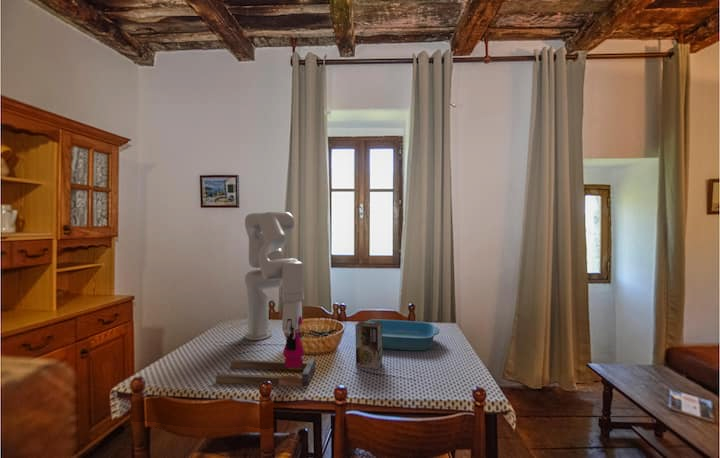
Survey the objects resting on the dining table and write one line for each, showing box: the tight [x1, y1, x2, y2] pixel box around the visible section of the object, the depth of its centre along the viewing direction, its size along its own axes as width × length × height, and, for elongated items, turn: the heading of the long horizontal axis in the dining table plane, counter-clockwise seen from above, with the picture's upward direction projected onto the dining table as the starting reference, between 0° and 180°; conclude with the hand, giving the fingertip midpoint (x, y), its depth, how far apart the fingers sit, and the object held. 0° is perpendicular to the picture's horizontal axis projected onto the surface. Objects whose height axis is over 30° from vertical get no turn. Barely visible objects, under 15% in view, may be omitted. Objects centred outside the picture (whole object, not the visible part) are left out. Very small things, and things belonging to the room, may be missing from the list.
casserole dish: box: [367, 318, 440, 352], centre depth 153 cm, size 37×22×7 cm, turn 77°
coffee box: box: [354, 320, 383, 370], centre depth 130 cm, size 9×6×16 cm
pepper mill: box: [283, 316, 305, 368], centre depth 120 cm, size 7×7×20 cm
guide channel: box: [215, 357, 317, 387], centre depth 121 cm, size 13×32×4 cm, turn 86°
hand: (293, 345), depth 120 cm, fingers closed on pepper mill, 5 cm apart
